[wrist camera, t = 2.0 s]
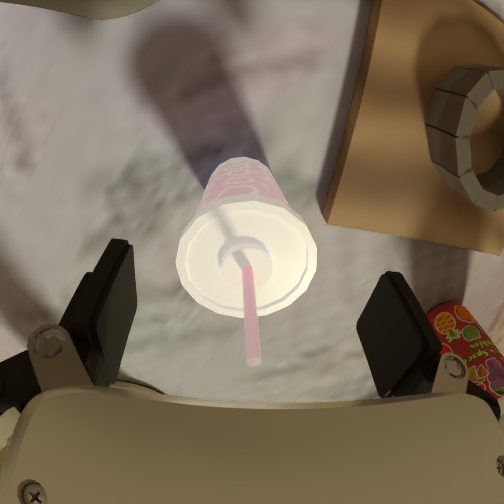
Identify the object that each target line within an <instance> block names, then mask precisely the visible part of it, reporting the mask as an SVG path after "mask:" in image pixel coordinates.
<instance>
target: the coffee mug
mask: <svg viewBox="0 0 504 504" xmlns="http://www.w3.org/2000/svg"><path fill="white" fill-rule="evenodd" d="M157 1H159V0H0V2H5V3H13V4H20V5H27V6H33V7H39V8H45V9H50V10H55V11H59V12H64V13H68V14H73V15H77V16H81V17H85V18H90V19H99V20H104V19H114V18H119V17H123V16H127V15H130V14H133V13H136V12H138V11H140V10H142V9H144V8H146V7H148V6H150V5H152V4H154V3H155V2H157Z"/></svg>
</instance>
